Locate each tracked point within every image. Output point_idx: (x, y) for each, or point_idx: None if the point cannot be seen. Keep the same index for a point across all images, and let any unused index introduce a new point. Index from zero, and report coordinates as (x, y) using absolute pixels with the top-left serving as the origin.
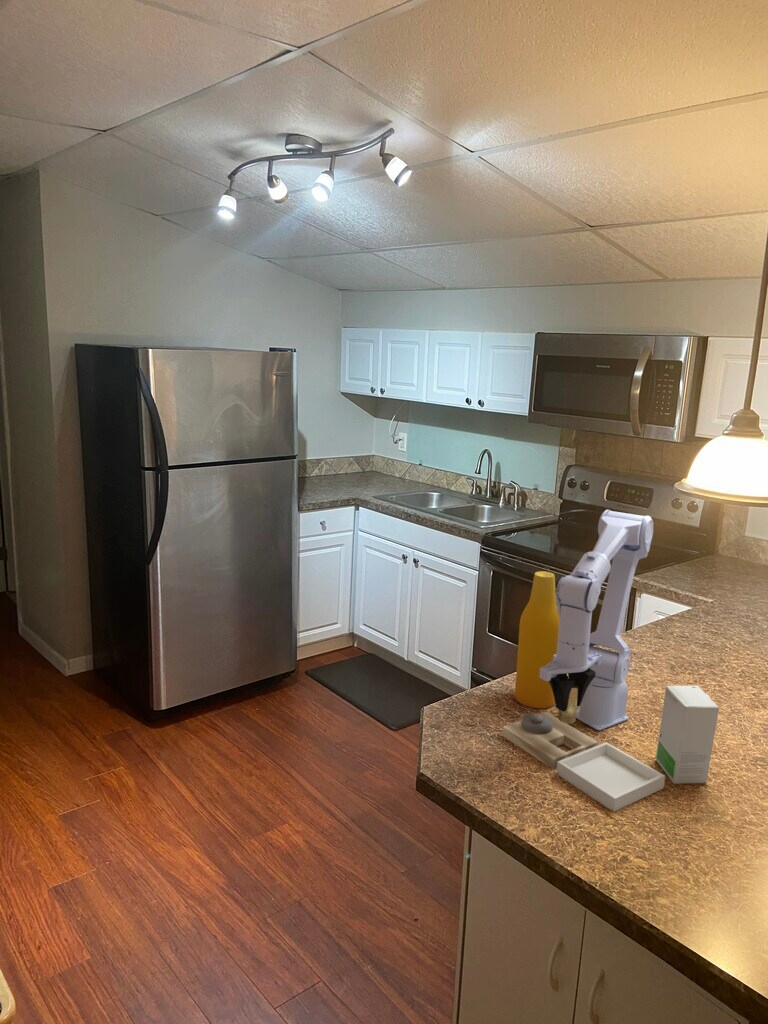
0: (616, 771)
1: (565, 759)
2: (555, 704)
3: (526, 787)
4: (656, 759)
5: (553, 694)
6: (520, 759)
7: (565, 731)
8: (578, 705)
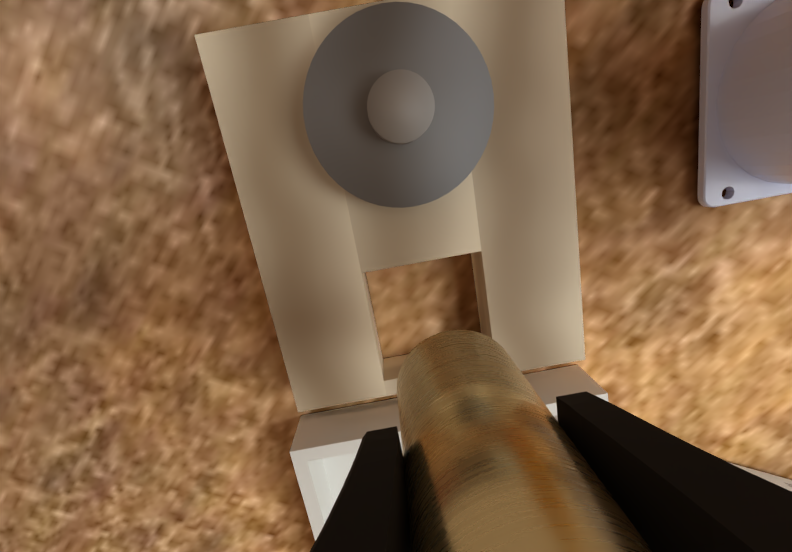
0: None
1: (334, 449)
2: (359, 449)
3: (141, 449)
4: None
5: (316, 539)
6: (209, 281)
7: (509, 223)
8: None
